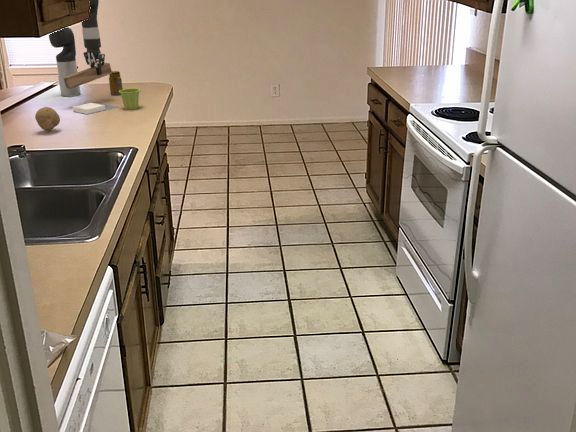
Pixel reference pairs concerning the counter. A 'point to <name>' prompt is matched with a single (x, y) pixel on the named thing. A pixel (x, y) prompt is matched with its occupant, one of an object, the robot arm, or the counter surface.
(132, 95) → the plant pot
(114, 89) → the condiment
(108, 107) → the mat
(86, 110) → the tile
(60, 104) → the counter surface
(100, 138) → the counter surface
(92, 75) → the push bar
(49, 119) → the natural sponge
